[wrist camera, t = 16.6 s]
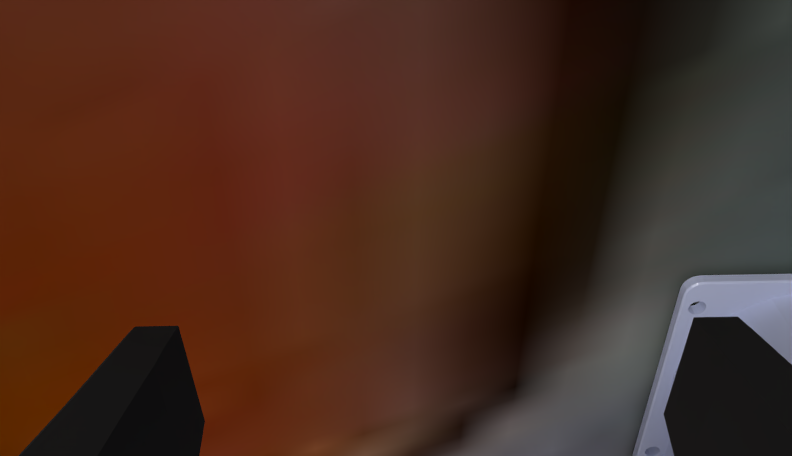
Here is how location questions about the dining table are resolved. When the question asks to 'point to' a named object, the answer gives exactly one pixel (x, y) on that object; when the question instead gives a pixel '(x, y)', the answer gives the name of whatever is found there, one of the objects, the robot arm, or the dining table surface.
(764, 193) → the dining table surface
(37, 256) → the dining table surface
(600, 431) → the dining table surface
